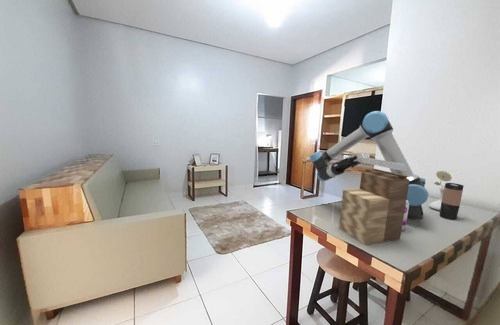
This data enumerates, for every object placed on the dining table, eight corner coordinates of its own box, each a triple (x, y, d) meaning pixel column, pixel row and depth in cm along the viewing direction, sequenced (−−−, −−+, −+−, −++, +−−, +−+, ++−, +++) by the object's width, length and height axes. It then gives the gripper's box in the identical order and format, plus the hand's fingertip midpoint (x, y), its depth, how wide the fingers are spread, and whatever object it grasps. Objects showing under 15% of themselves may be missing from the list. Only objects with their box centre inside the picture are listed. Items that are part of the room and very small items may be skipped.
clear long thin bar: (348, 159, 114) (348, 155, 114) (352, 159, 115) (353, 155, 114) (401, 170, 86) (402, 164, 85) (406, 170, 87) (407, 164, 86)
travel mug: (460, 221, 116) (467, 186, 112) (444, 219, 117) (451, 185, 114) (450, 215, 123) (457, 183, 120) (435, 214, 124) (441, 182, 121)
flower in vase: (457, 213, 127) (466, 174, 122) (439, 212, 127) (446, 173, 123) (438, 205, 139) (445, 169, 135) (421, 205, 140) (428, 169, 136)
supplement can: (405, 233, 99) (410, 203, 97) (385, 228, 103) (389, 199, 101) (404, 226, 106) (408, 199, 104) (385, 222, 110) (389, 195, 108)
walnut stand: (338, 227, 103) (345, 169, 98) (370, 223, 108) (377, 168, 104) (365, 244, 88) (374, 177, 83) (399, 239, 93) (410, 175, 89)
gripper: (348, 174, 127) (380, 161, 106) (326, 175, 122) (355, 161, 101) (344, 163, 129) (375, 148, 108) (323, 163, 125) (350, 147, 104)
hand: (365, 154), depth 105 cm, fingers closed on clear long thin bar, 3 cm apart
